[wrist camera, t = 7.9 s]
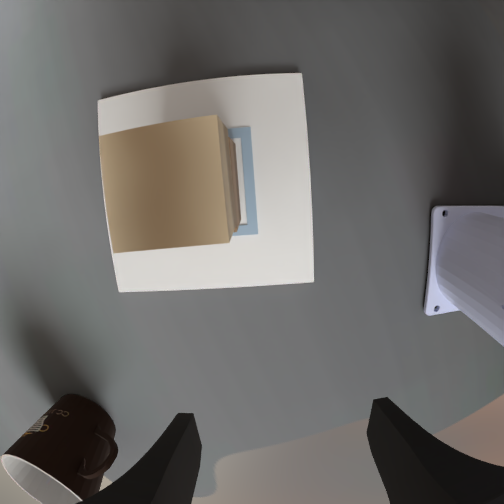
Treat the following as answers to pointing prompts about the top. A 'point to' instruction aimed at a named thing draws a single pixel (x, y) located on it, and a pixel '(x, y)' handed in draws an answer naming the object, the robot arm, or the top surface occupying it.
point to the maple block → (168, 185)
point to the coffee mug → (64, 452)
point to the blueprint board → (249, 180)
